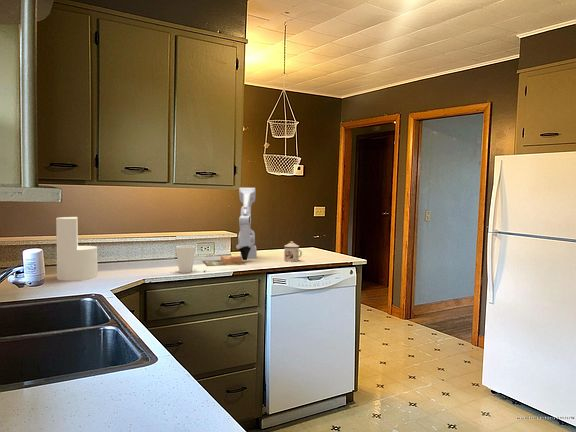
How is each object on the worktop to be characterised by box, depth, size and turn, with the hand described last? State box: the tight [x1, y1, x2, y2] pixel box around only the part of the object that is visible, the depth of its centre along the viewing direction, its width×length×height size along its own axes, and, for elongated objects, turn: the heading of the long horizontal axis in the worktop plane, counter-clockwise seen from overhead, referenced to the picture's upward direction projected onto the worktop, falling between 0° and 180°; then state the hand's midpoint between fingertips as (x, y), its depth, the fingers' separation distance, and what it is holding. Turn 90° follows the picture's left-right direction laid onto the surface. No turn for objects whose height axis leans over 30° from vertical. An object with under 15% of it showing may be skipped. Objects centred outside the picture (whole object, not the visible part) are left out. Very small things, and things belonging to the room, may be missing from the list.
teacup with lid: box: [283, 241, 303, 262], centre depth 268 cm, size 12×9×12 cm
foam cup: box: [175, 244, 196, 274], centre depth 227 cm, size 10×9×13 cm
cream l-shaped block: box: [55, 216, 99, 282], centre depth 209 cm, size 17×17×28 cm
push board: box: [201, 259, 247, 267], centre depth 251 cm, size 22×20×1 cm
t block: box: [220, 255, 243, 264], centre depth 253 cm, size 10×12×3 cm
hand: (244, 259), depth 255 cm, fingers closed
